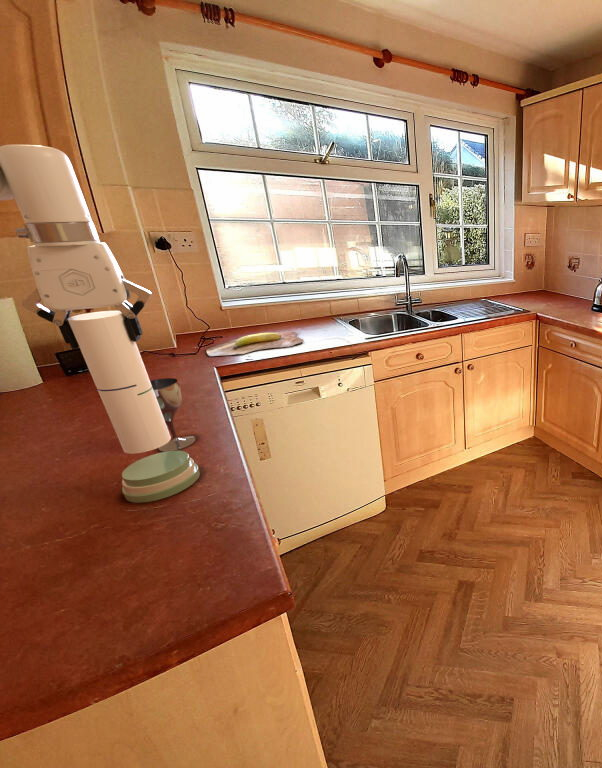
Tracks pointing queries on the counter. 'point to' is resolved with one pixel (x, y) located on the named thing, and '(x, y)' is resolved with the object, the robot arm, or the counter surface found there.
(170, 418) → the wine glass
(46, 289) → the robot arm
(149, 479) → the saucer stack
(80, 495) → the counter surface
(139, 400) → the cylindrical container
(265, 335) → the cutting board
